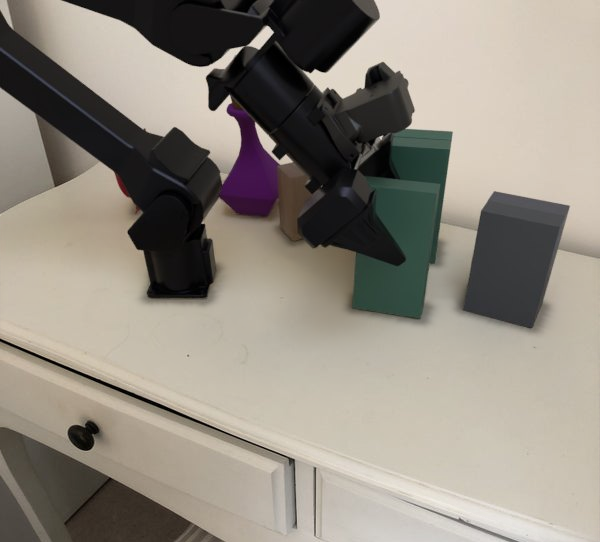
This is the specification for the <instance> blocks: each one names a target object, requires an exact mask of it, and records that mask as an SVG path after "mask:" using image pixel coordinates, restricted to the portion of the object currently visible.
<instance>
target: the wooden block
mask: <svg viewBox="0 0 600 542" xmlns="http://www.w3.org/2000/svg"><path fill="white" fill-rule="evenodd" d="M277 178H278V197H279V198H278V213H279V214H278V217H279V228H280V230H282V231H283V232H284V233H285V234H286V236H287V237H288V238H289V239H290V240H291V241H295V242H296V241H299V240H304V239H303V238H302V237H301V236H300V235H299V234H298V233H297V218H298V216H299V214H300V212H301V210H302V208H303V205H304V203H305V201H306V200H307V199H308V198H309V197H310V196H312V195H313V194H314V193H313V194H311V193H310V192H309V191H308V190H307V189H306V188H305V187H304V186H305V184H306V182H307V180H308V177H307V176H306V175H305V174H304V173H303V172H302V171H301V170H300V169H299V168H298V166H297V165H296V164H295V163H294V162H293V161H291V162H288V163H283V164H280V165H279V166H277ZM321 187H322V186H321ZM321 187H320V188H321Z"/></svg>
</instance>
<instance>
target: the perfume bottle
mask: <svg viewBox="0 0 600 542" xmlns="http://www.w3.org/2000/svg"><path fill="white" fill-rule="evenodd" d="M236 55H237V54H234V56H233V58H232V60H233V59H234V57H235V56H236ZM229 96H230V95H229ZM230 101H231V102H230V103H229V104H228V105H227V107H226V110H225V111H226V113H227V115H228V116H230V117H233V118H234V119H235V121H236V122H237V125H238V127H239V132H240V133H239V134H240V148H239V151H238V156H237V158H236V159H235V161H234V164H233V166H232V167H231V170H230V171H229V173H228V175H227V176H226V178H225V179H224V181H223V182H222V192H221V194H220V196H219V199H220V200H221V201H223V202H224V203H225V204H226V205H227V206H228V207H229V208H230V209H231V210H232V211H233V212H234V213H235V214H237V215H243V216H254V217H262V218H263V217H264V218H265V217H266V218H267V217H269V215H270V213H271V212H272V211H273V208H274V207H275V205H276V203H277V202H278V201H279V197H278V178H277V166H279V165H281V164H280V163H279V162H278V161H277V160H276V159H275V158H274V157H273V156H272V155H271V154H270V153H269V152H268V151H267V150H266V149H265V147H264V146H263V144H262V143H261V140H260V137H259V133H258V131H257V128H256V127H257V126H256V122H255V121H254V120H253V119H252V118H251V117H250V116H249V115H248V114H247V113H246V112H245V111H244V109H243V108H242V107H241V106H240V105H239V104H238V103H237V102H236V101H235V100H234V99H233V98H232V97H231V96H230Z"/></svg>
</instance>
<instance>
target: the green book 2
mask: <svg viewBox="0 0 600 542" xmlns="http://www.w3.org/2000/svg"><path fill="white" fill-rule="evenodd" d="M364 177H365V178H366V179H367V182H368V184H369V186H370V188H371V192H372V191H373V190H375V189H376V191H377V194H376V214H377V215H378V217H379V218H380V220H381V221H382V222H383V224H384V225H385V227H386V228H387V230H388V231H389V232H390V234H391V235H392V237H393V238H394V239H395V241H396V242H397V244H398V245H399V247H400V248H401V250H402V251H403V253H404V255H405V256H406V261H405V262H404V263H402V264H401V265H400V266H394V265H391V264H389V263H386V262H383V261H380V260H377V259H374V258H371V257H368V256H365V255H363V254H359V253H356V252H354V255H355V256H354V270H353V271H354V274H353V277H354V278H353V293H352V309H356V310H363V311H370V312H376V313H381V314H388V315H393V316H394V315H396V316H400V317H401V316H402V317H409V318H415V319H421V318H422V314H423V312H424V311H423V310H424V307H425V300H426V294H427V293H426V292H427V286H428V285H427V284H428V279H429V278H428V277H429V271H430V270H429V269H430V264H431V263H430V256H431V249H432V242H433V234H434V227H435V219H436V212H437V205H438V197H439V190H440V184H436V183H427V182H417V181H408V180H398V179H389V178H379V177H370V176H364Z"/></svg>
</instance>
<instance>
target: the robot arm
mask: <svg viewBox="0 0 600 542" xmlns="http://www.w3.org/2000/svg"><path fill="white" fill-rule="evenodd" d="M61 1H62V2H64V3H67V4H71V5H74V6H77V7H79V8H82V9H86V10H88V11H91V12H94V13H97V14H100V15H102V16H105V17H108V18H111V19H114V20H117V21H120V22H122V23H124V24H126V25H128V26H129V27H131V28H133V29H135V31H136V32H137V33H139V34H140V35H141V36H142V37H143V39H145V40H146V41H147V42H148V43H150V44H151V45H152V46H153V47H155V48H157V49H159V50H160V51H163V52H164V53H166V54H168V55H170V56H171V57H174V58H175V59H177V60H179V61H180V62H183V63H185V64H187V65H189V66H192V67H197V68H204V67H209V66H210V65H213V64H215V63H216V62H218V61H219V60H221V59H222V58H224V56H225V55H226V54H227V53H228V52H229V51H230V50H232V49H238V48H241V49H240V50H239V51H238V52H237V54H235V55H236V56H235V55H234V56H235V57H234V56H233V58H234V59H233V58H232V60H231V61H230V62H229V63H228V65H226V67H225V68H218V67H217V68H216V67H215V68H212V69H211V71H209V73H208V74H207V75H206V76H205V82H206V85H207V90H208V93H207V102H208V103H207V107H208V109H209V110H210V111H211V112H216V111H217V110H218V108H220V106H222V104H223V103H224V102H225V101H226V99H227V98H228V97H229V96H231V97H232V98H233V99H234V100H235V101H236V102H237V103H238V104H239V105H240V106H241V107H242V108H243V109H244V111H245V112H246V113H247V114H248V115H249V116H250V117H251V118H252V119H253V120H254V121H255V124H256V125H258V127H259V128H260V129H261V130H262V131H263V132H264V134H266V135H267V136H268V137H269V138H270V140H271V141H272V142H274V144H275V145H274V147H273V148H272V150H271V154H272V155H274V156H275V158H277V160H278V161H281V160H282V159H283V158H284V157H285V156H287V157H288V158H289V159H290V160H291V162H294V163H295V164H296V165H297V166H298V168H299V169H300V170H301V171H302V172H303V173H304V174H305V175H306V176H307V177H308V180H307V182H306V184H305V186H304V187H305V188H306V189H307V190H308V191H309V192H310V193H311V194H313V193H314V194H313V195H312V196H310V197H309V198H308V199H307V200H306V201H305V203H304V205H303V208H302V210H301V212H300V214H299V216H298V218H297V233H298V234H299V235H300V236H301V237H302V238H303V239H302V240H304V242H305V243H306V244H307V245H308V246H309V247H310V248H311V249H312V250H314V249H317V248H318V247H320V246H321V247H322V248H324V249H326V248H328V247H329V246H330V247H334V248H339V249H342V250H346V251H350V252H354V253H355V252H356V253H359V254H363V255H365V256H368V257H371V258H374V259H377V260H380V261H383V262H386V263H389V264H391V265H394V266H400V265H401V264H402V263H404V262H405V261H406V256H405V255H404V253H403V251H402V250H401V248H400V247H399V245H398V244H397V242H396V241H395V239H394V238H393V237H392V235H391V234H390V232H389V231H388V230H387V228H386V227H385V225H384V224H383V222H382V221H381V220H380V218H379V217H378V215H377V214H376V194H377V191H376V189H375V190H373V191H372V192H371V188H370V186H369V184H368V182H367V179H366V178H365V177H364V176H370V177H379V178H389V179H398V180H401V179H400V177H399V174H398V172H397V170H396V168H395V166H394V163H393V161H392V157H391V155H392V145H393V138H394V133H397V132H400V131H402V130H404V129H408V128H409V127H410V126H411V125H412V122H413V114H414V113H415V112H416V109H415V106H414V103H413V100H412V97H411V94H410V91H409V89H408V88H409V84H410V83H409V80H408V78H405V77H404V74H403V73H402V72H401V70H397V71H396V72H395V71H394V70H393V69H392V68H391V67H390V66H388V64H387V63H386V62H384V61H380V62H379V63H377V64H375V65H372V66H370V67H368V69H367V71H366V73H365V76H364V87H363V88H362V87H359V88H357V89H356V91H355V92H354V93H352V94H350V95H348V96H346V97H344V98H343V97H342V96H341V95H340V94H339V93H338V92H337V91H336V90H335V89H334V88H331V89H330V88H329V87H326V88H325V89H324V90H323V91H321V90H320V88H319V87H318V86H317V85H316V84H315V83H314V81H313V80H312V79H311V78H310V77H309V76H308V75H307V74H306V73H309V74H313V72H314V71H317V72H320V73H323V74H327V73H328V72H330V71H331V70H332V69H333V68H334V67H335V65H336V64H338V63H339V61H340V60H341V59H342V58H343V57H344V56H345V55H346V54H347V53H348V52H349V51H350V50H351V49H352V48H353V47H354V46H355V45H356V44H357V43H358V42H359V41H360V40H361V39H362V37H364V36H365V35H366V34H367V32H368V31H369V30H370V29H372V27H373V26H374V25H375V24H376V23H377V22H378V21H379V20H380V18H381V15H380V10H379V8H378V5H377V2H376V1H375V0H61ZM267 27H268V28H269V29H270V30H271V31H272V32H273V33H272V34H271V35H270V37H269V38H267V40H266V41H265V42H264V43H263V45H262V46H261V47H260V48H256V47H255V46H252V45H250V44H251V43H252V42H253V41H254V40H255V39H256V38H257V37H258V36H259V35H260V34H261V33H262V32H263V31H264V30H265V29H266V28H267ZM0 89H1V90H2V91H4V92H5V93H7V94H8V95H9V96H10V97H12V98H13V99H15V100H16V101H17V102H18V103H20V104H21V105H23V106H24V107H25V108H27V109H28V110H29V111H31V112H32V113H33V114H35V115H36V116H38V117H39V118H40V119H41V120H43V121H44V122H46V123H47V124H48V125H49V126H51V127H52V128H54V129H55V130H56V131H58V132H59V133H60V134H62V135H63V136H65V137H66V138H68V139H69V140H70V141H71V142H73V143H74V144H76V145H77V146H78V147H80V148H81V149H82V150H83V151H85V152H87V153H88V154H89V155H91V156H92V157H93V158H95V159H96V160H97V161H99V162H100V163H101V164H102V165H104V166H106V167H107V168H108V169H109V170H111V171H112V172H113V173H114V172H115V173H116V174H117V175H118V176H119V178H120V179H121V181H122V183H123V185H124V187H125V188H126V190H127V192H128V194H129V196H130V198H129V199H130V200H131V201H132V203H133V204H134V206H135V207H136V206H137V207H138V208H139V209H140V210H139V211H140V212H142V213H141V214H140V215H139V216H138V218H137V219H136V220H135V221H134V222H133V223H132V225H131V226H130V227H129V228H128V229H127V235H128V237H129V239H130V240H131V243H132V244H133V245H134V247H135V249H136V250H137V251H142V252H143V257H144V263H145V265H146V270H147V276H148V281H149V285H148V288H147V290H146V297H147V298H149V299H206V298H207V297H208V296H209V292H210V289H211V286H212V285H213V284H214V283H215V279H216V275H217V270H218V269H217V264H216V255H215V254H216V253H215V247H214V240H213V239H212V238H211V237H208V234H207V226H206V224H205V223H203V222H204V220H205V219H206V218H207V217H208V215H209V213H210V212H211V211H212V209H213V207H214V206H215V205H216V203H217V201H218V200H219V199H220V197H219V196H220V194H221V192H222V184H223V180H222V177H221V170H220V169H219V166H218V165H217V164H216V163H215V162H214V160H213V159H211V158H210V157H209V155H210V154H211V151H210V150H209V149H207V148H204V147H201V146H200V145H198V144H196V143H195V142H194V141H193V140H192V139H191V138H189V136H188V135H186V133H185V132H184V131H183V130H181V129H179V128H178V127H177V126H173V127H172V128H171V129H170V130H169V131H168V132H167V133H166V134H165V135H159V134H156V133H152V132H148V131H147V130H146V131H145V130H143V129H144V128H142V127H140V126H139V125H138V124H136V122H134V120H131V119H130V117H128V116H126V115H125V114H124V113H122V112H121V111H120V110H119V109H117V108H116V107H115V106H114V105H112V104H111V103H110V102H108V101H107V100H105V99H104V98H103V97H101V96H100V95H99V94H97V92H95V91H94V90H93V89H91V88H90V87H88V86H87V85H86V84H84V82H82V81H81V80H79V79H78V78H77V77H75V76H74V75H73V74H72V73H70V72H69V71H68V70H67V69H65V68H64V67H62V66H61V65H60V64H58V63H57V61H54V60H53V59H52V58H51V57H50V56H48V55H47V54H46V53H44V52H43V51H41V49H39V48H38V47H36V46H35V45H34V44H33V43H31V41H30V42H29V41H28V40H27V38H25V37H23V36H22V35H21V34H19V33H18V32H17V31H16V30H14V28H12V27H11V26H10V24H9V23H8V21H7V20H6V17H5V16H4V13H3V12H2V11H1V9H0ZM231 97H230V98H231ZM388 133H389V134H388ZM387 134H388V135H387ZM383 136H385V137H384V138H383V139H382V138H381V137H383ZM115 173H114V174H115ZM320 187H321V188H320Z"/></svg>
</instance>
